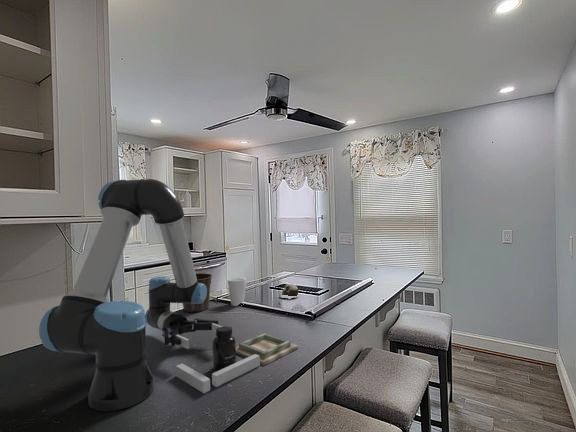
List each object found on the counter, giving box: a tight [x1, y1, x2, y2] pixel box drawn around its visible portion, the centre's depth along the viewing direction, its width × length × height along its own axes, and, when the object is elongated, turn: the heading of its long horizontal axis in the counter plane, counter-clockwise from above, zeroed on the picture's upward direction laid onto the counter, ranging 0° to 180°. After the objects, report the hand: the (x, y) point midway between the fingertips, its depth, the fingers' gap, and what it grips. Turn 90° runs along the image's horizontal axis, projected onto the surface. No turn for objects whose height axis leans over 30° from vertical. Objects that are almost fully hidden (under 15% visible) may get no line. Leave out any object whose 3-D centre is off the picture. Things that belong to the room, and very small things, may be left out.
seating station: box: [236, 333, 299, 366], centre depth 111 cm, size 16×16×2 cm
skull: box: [280, 283, 299, 296], centre depth 180 cm, size 12×10×10 cm
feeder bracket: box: [175, 354, 261, 394], centre depth 97 cm, size 20×14×3 cm
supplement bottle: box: [212, 325, 237, 373], centre depth 98 cm, size 7×7×12 cm
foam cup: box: [227, 276, 247, 307], centre depth 167 cm, size 10×9×13 cm
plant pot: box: [182, 272, 213, 313], centre depth 160 cm, size 16×16×16 cm
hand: (207, 337), depth 104 cm, fingers open, 13 cm apart
